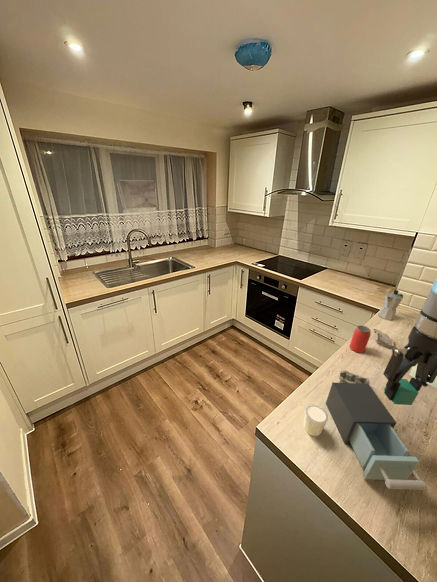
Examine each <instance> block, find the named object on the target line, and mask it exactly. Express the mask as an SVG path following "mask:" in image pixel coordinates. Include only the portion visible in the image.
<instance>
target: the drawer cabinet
mask: <svg viewBox="0 0 437 582" xmlns="http://www.w3.org/2000/svg"><path fill="white" fill-rule="evenodd" d="M325 405H326V407H327V409H328V411H329V414H330V415H331V418H332V419H333V422H334V425H335V427H336V429H337V431H338V433H339V435H340V437H341V439H342V442H343V444H345V445H347V444H348V445H351V443H350V441H349V438H350V435H351V433H352V431H353V428H354V426H355V424H356V423H366V424H390V425H391V426H392V427H393V429H394V428H395V427H396V425H397V421H396V419H395V418H394V417H393V416H392V414H391V413H390V411H389V410H388V408H387V406H385V404H384V402H382V400H381V399H380V397H379V396H378V394H377V393H376V392H375V390H374V389H373V388H372V387H371V384H370V383H369V384H363V383H339V382H332V384H331V386H330V389H329V392H328V395H327V398H326V401H325Z"/></svg>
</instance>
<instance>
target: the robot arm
mask: <svg viewBox="0 0 437 582" xmlns="http://www.w3.org/2000/svg"><path fill="white" fill-rule="evenodd" d="M407 339H408V343H407V344H406V345H405V346H404V347H403V348H399V349H398V347H392V351H391V356H390V358H389V360H388V363H387V365H386V367H385V368H384V371H383V373H382V374H383V376H384V377H385V378H386V379H387V382H386V384H385V387H386V389H385V388H384V389H385V391H383V393H384V394H385V397H386V398H387V399H388V400H389V401H392V400H393V398H394V396H395V394H396V392H397V390H398V388H399V386H400V383H399V381H400V380H401V379H404V376H405V375H407V373H408V372H409V371H410V370H411V368H412V367H416V369H415V375H414V377H411V378H410V379H409V380H408V381H409V383H410V384H411V385H412V386H413V387H414V388H415V389H416V390H417V391H418V392H420V390H421V389H422V387H424V388H426V387H428V386H429V384H433V383H434V382H435V380H436V378H437V278H436V279H435V280H434V282H433V284H432V286H430V289H429V291H428V295H427V297H426V299H425V301H424V303H423V305H422V307H421V310H420V312H419V314H418V316H417V318H416V319H415V321H414V323H413V327H412V328H411V330H410V332H409V335H408V338H407ZM428 383H429V384H428Z"/></svg>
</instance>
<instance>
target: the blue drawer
mask: <svg viewBox="0 0 437 582" xmlns="http://www.w3.org/2000/svg"><path fill="white" fill-rule="evenodd" d="M349 441H350V443H351V444H350V445H351V447H352V449H353V451H354V453H355V455H356V457H357V460H358V461H359V464H360V467H361V468H362V469H364V471H363V472H362V476H363V478H364V480H376V481H377V480H378V481H379V480H380V481H381V480H383V481H384V482H385V486H386V487H387V489H388V490H415V491H417V490H418V491H420V490H421V491H427V490H428V485H427V483H426V481H424V480H422V479H421V477H419V475H418V473H417V471H416V470H415V469H416V467H417V466H418V464H419V463H420V460H419V459H418V457H417V456H408V454H409V453H410V450H409V448H407V446H406V444H405V443H404V442H403V440H402V438H401V437H400V436H399V435H398V433H397V432H396V431H395V429H394V428H393V427H392V426H391V425H390V424H366V423H356V424H355V426H354V428H353V431H352V433H351V435H350V438H349ZM411 475H413V476H414V478H415V479H409V477H410V476H411Z"/></svg>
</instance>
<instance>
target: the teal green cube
mask: <svg viewBox="0 0 437 582" xmlns="http://www.w3.org/2000/svg"><path fill="white" fill-rule="evenodd" d="M409 381H410V380H408V379H407V378H402V379H401V380H400V381H399V383H400V386H399V388H398V390H397V392H396V394H395V396H394V398H393V400H391V402H392V403H393V404H394V405H403V406H404V405H405V406H412V405H413V404H414V402H415V400H416V399H417V397H418V395H419V391H417V390H416V389H415V388H414V387H413V386H412V385H411V384H410V383H409ZM385 389H386V386H385V387H384V388H383V392H385Z"/></svg>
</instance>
